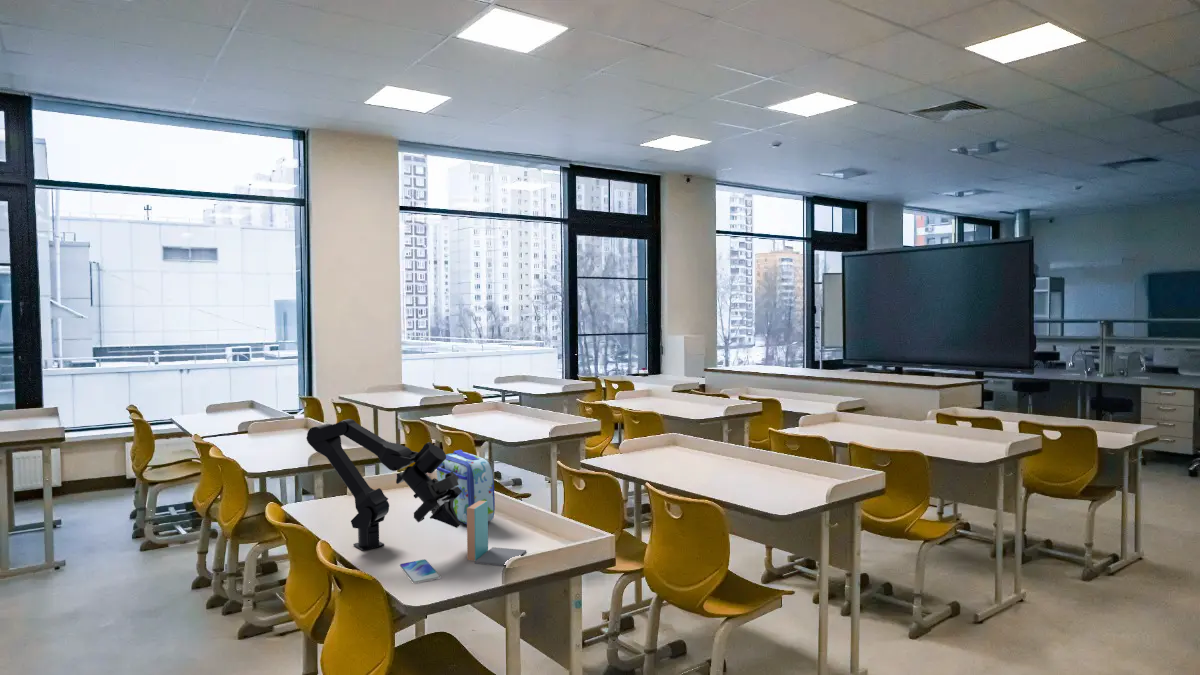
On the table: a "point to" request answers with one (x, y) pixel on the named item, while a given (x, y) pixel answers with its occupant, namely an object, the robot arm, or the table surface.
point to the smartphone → (420, 571)
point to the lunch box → (469, 482)
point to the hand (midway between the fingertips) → (458, 526)
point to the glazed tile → (477, 530)
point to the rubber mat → (498, 556)
